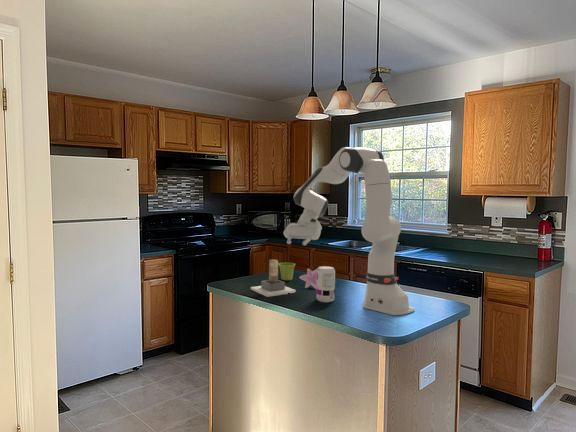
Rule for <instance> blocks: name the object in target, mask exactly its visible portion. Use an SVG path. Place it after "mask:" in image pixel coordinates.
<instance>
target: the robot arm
mask: <svg viewBox="0 0 576 432" xmlns="http://www.w3.org/2000/svg"><path fill="white" fill-rule="evenodd" d="M351 173H353V174H354V173H355V174H358V173H361V174H362V175H363V178H364V190H365V192H364V193H365V202H366V203H365V205H366V206H365V207H366V208H365V215H364V216H365V217H364V221H363V224H362V226H361V235H362V238H364V240H366V241H367V242H369V243H372V245H371V247H370V248H371V249H370V251H369V253H368V257H367V259H368V261H367V272H366V287H365V293H364V299H363V302H362V304H363V305H362V307H363V308H364V309H368V310H371V311H376V312H379V313H381V314H387V315H391V316H402V315H407V314H412V313H413V312H415V307H413V306H411V305H410V301H409V296H408V294H407V293H406V292H405V291H404V290H403V289H402V288H401V287H400V286H399V285H398V284H397V281H398V280H399V276H396V275H395V273H394V271H395V270H394V267H395V254H396V250H397V246H398V242H399V241H398V240H399V235H400V234H401V231H402V225H401V222H400V221H399V219H397V218H396V217H394V216H391V214H390V213H391V206H392V203H393V195H392V193H393V192H392V184H391V183H392V182H391V176H390V172H389V168H388V165H387V162H386V161H385V157H384V154H383V152H382V151H380V150H379V149H376V148H369V147H368V148H367V147H363V146H362V147H348V146H345V147H342V148H340V149H339V150H338V151H337V152H336V154H335V155H334V156H333V158H332V159H331V160H330V162H329V163H328V164H326V165H325V166H320V167H318V168H317V169H316V170H315V171H314V172H313V173H312V174H311V175H310V176H309V177H308V178H307V180H306V181H305V182H304V183H303V184H302V185H301V186H300V187H298V188H297V190H296V191H294V194H293V197H292V198H293V201H294V203H295V205H297V206H300V207H302V208H304V209H303V212H302V214H301V215H300V217H299V219H298V220H297V222H291V223H288V224H287V226H286V227H285V229H284V230H283V236H284V237H285V238H286V239H287V241H286V244H287V245H291V244H292V239H297V240H303V241H302V242H301V243H302V246H307V244H308V243H310V242H311V240H312V241H317V240H319V238H320V236H321V233H322V229H323V227H322V225H321V222H320V221H319V220H318V218H321V217H323V216H324V215H326V212H327V209H328V207H329V200H328V199H327V198H326V197H324V196H322V195H320V194H318V193H316V192H314V191H312V190H311V189H312V188H313V187H314V185H315V184H316V183H327V184H332V185H339V184H342V183H344V182H345V181H346V180H347V179H348V177H349V176H350V174H351Z"/></svg>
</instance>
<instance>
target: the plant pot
mask: <svg viewBox="0 0 576 432" xmlns="http://www.w3.org/2000/svg"><path fill="white" fill-rule="evenodd" d="M295 267H296V263H294V262H278V268H279V270H280V271H279V272H280V279H281V281H282V280H283V281H292V280H293V279H294V278H293V277H294V270H295Z"/></svg>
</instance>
